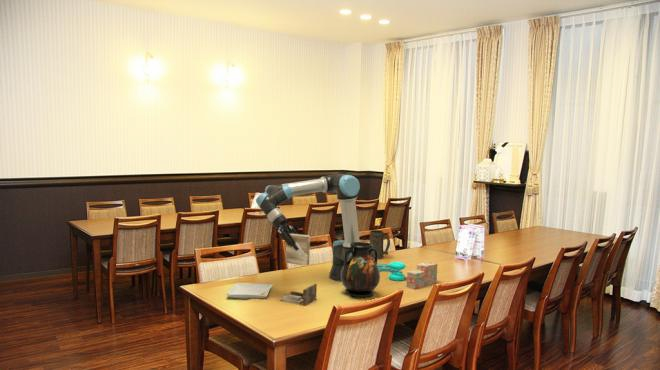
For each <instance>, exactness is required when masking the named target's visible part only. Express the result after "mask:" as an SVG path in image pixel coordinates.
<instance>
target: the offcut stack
mask: <svg viewBox="0 0 660 370" xmlns="http://www.w3.org/2000/svg"><path fill="white" fill-rule="evenodd" d="M285 294H286V295H285ZM285 294H284V295H283V297H282V299H283V301H284V303H288V302H289V303H288V304H293V303H294V305H298V304H299V305H298V306H301V305H300V304H302V303H303V299H302V297H300V296H294V295H288V294H289V293H285ZM283 301H282V302H283Z"/></svg>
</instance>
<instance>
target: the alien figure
mask: <svg viewBox="0 0 660 370" xmlns="http://www.w3.org/2000/svg"><path fill="white" fill-rule="evenodd" d="M377 266H378V269H379V272H380V273H381V272H384V273H385V272H387V273H389V272H390V273H393V272H399V273H402V274H403V271H402V270H394V269H391V268H390V267H389V264H388V263H377Z"/></svg>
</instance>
